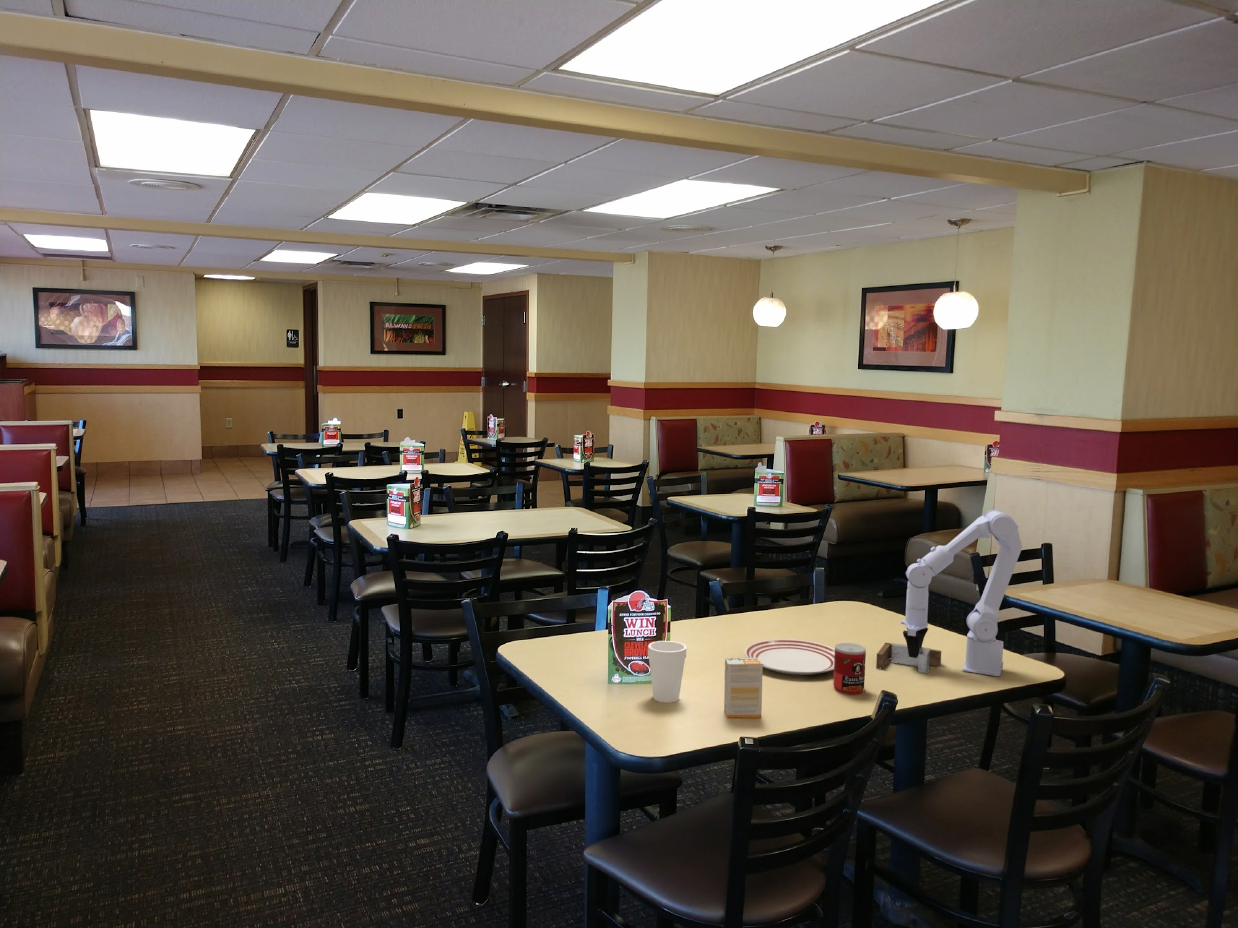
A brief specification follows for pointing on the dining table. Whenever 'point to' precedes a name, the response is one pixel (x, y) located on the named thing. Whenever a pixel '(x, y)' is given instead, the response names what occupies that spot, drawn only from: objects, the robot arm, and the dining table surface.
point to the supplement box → (743, 688)
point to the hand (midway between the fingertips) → (914, 654)
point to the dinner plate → (793, 656)
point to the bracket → (902, 657)
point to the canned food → (849, 668)
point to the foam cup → (666, 669)
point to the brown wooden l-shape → (887, 653)
